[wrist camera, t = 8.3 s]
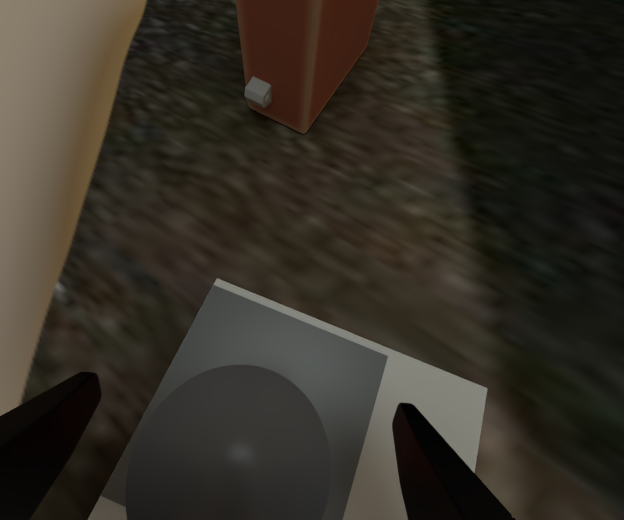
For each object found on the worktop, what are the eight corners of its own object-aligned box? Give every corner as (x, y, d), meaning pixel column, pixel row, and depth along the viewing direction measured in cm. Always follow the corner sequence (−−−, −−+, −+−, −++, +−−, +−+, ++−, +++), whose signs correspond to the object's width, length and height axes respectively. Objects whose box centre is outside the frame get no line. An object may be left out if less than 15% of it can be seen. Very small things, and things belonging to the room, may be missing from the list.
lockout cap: (308, 457, 16) (349, 568, 6) (218, 477, 15) (120, 633, 6) (295, 366, 17) (313, 351, 8) (213, 381, 17) (128, 382, 7)
